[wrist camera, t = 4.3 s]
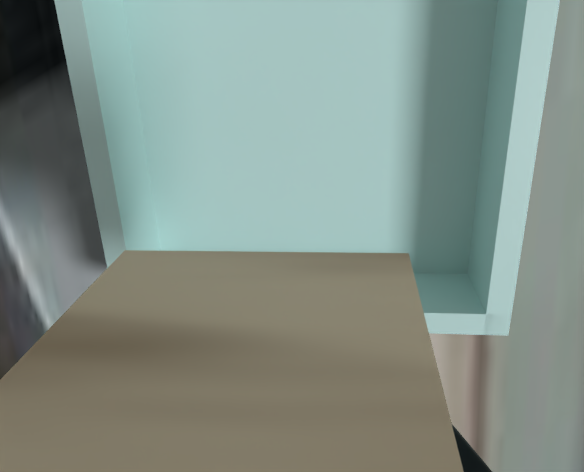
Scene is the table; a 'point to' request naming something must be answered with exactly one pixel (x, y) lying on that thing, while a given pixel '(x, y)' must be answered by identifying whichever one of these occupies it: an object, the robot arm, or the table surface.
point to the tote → (319, 132)
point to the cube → (234, 370)
